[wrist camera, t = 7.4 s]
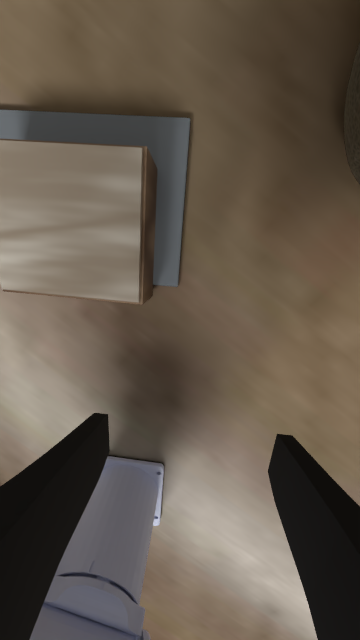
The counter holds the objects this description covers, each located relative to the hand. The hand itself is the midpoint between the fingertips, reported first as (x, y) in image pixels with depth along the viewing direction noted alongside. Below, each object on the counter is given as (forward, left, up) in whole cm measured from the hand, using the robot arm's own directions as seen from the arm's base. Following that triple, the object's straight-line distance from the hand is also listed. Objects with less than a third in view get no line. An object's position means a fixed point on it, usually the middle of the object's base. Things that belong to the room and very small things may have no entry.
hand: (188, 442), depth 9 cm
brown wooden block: (+4, +9, -8) cm, 13 cm away
